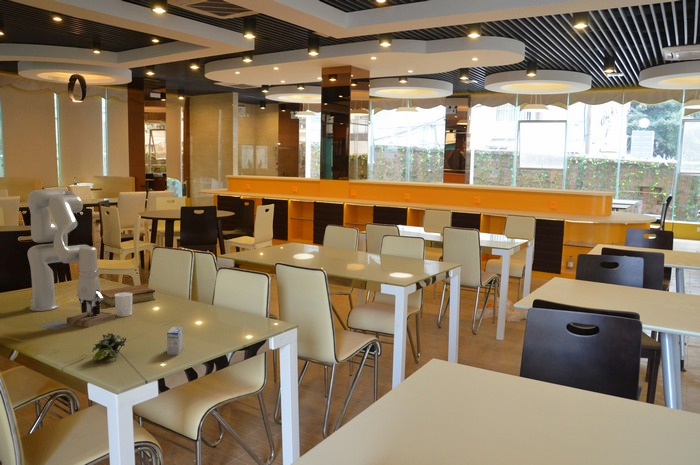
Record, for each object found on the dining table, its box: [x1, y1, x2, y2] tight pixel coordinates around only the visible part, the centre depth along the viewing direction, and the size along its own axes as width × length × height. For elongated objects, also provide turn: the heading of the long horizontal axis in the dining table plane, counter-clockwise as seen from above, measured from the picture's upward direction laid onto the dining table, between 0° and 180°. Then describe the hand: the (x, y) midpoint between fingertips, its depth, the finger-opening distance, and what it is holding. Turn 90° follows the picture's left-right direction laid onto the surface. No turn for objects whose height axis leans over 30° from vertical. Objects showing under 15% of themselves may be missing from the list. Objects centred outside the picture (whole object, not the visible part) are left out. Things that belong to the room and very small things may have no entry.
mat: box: [38, 320, 75, 331], centre depth 248 cm, size 12×10×1 cm
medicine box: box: [166, 326, 184, 356], centre depth 215 cm, size 8×4×9 cm, turn 5°
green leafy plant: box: [91, 332, 127, 363], centre depth 206 cm, size 11×11×12 cm
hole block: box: [66, 311, 116, 328], centre depth 254 cm, size 14×14×3 cm
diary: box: [101, 284, 156, 308], centre depth 295 cm, size 23×19×6 cm
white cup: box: [115, 292, 133, 318], centre depth 266 cm, size 8×8×10 cm
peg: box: [86, 300, 94, 318], centre depth 253 cm, size 3×3×10 cm
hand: (90, 313), depth 253 cm, fingers open, 6 cm apart
